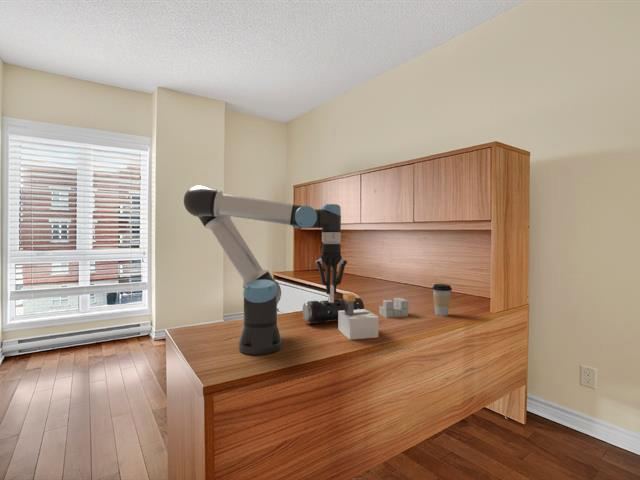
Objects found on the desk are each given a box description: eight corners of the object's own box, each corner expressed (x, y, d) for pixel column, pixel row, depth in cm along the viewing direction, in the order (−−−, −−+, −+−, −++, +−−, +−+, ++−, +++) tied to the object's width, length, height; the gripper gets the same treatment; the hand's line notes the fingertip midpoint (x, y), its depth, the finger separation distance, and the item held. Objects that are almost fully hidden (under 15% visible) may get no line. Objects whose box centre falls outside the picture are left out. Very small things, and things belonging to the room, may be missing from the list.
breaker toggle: (347, 315, 130) (347, 295, 130) (342, 311, 135) (343, 293, 135) (355, 314, 131) (355, 295, 130) (350, 311, 136) (350, 293, 136)
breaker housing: (349, 339, 126) (350, 318, 126) (338, 329, 139) (338, 310, 139) (378, 337, 129) (378, 316, 129) (364, 327, 142) (364, 308, 142)
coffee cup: (433, 311, 172) (433, 283, 172) (452, 313, 168) (452, 284, 167) (430, 315, 163) (431, 285, 163) (451, 317, 159) (451, 287, 159)
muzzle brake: (364, 321, 153) (364, 299, 153) (309, 327, 142) (309, 303, 142) (354, 316, 162) (354, 295, 162) (301, 322, 151) (301, 299, 151)
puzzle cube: (396, 311, 174) (396, 296, 174) (408, 316, 162) (408, 300, 162) (375, 312, 171) (376, 297, 171) (386, 318, 159) (386, 301, 159)
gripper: (318, 243, 125) (317, 304, 125) (349, 243, 128) (349, 303, 129) (313, 242, 132) (313, 301, 133) (343, 242, 136) (343, 299, 136)
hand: (331, 302), depth 131 cm, fingers closed
